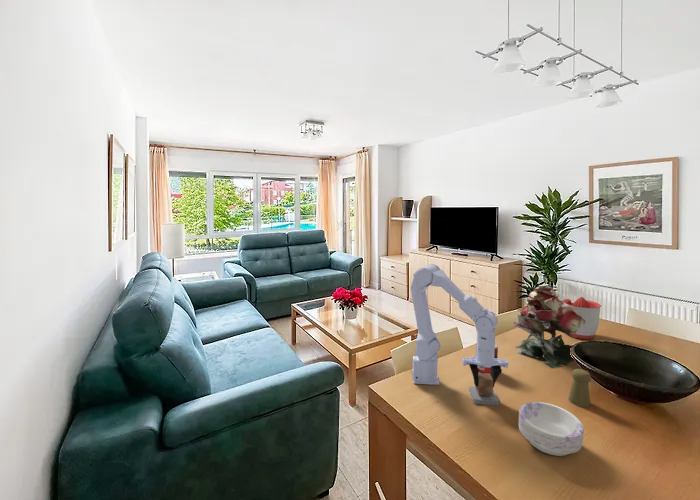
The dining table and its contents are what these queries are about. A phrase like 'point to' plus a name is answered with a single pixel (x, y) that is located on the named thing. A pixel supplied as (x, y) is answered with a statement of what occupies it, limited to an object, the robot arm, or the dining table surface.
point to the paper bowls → (550, 428)
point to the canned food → (487, 369)
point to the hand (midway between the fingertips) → (483, 385)
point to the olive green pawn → (580, 388)
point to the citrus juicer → (586, 317)
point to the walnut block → (484, 384)
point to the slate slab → (483, 397)
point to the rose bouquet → (547, 326)
